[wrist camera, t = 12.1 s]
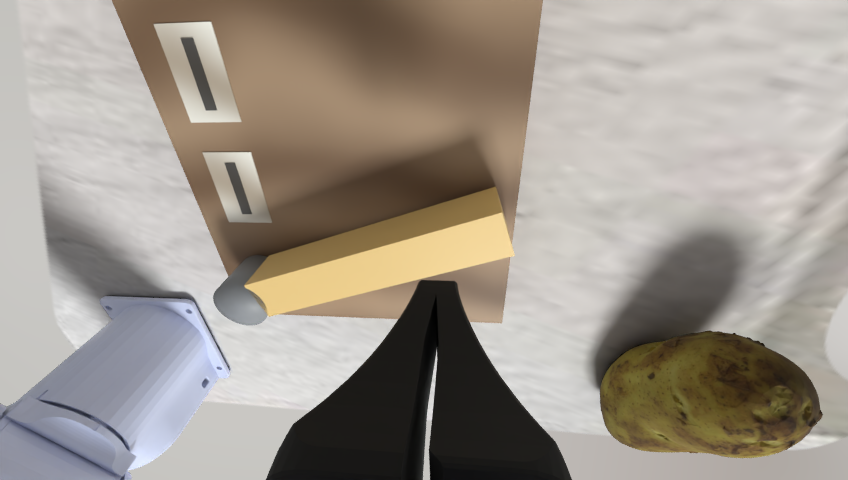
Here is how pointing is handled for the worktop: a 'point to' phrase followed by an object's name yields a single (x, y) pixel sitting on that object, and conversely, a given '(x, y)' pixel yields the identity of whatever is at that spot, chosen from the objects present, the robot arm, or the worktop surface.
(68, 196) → the worktop surface
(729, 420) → the potato
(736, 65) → the worktop surface
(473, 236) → the swing bar
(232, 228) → the label board
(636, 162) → the worktop surface
